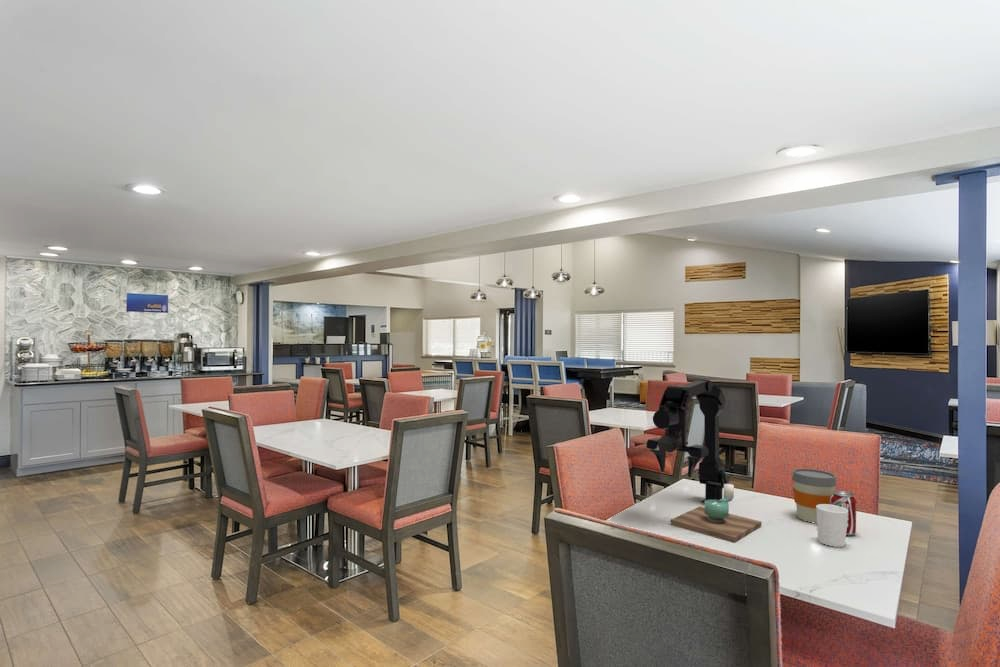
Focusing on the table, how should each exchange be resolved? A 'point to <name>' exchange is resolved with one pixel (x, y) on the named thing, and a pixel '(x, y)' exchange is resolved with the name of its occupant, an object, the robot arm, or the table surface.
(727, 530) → the brown wooden cutting board
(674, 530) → the table surface
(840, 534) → the white cup
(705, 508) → the teal bulbous piece
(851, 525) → the soda can
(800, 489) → the reusable coffee cup
